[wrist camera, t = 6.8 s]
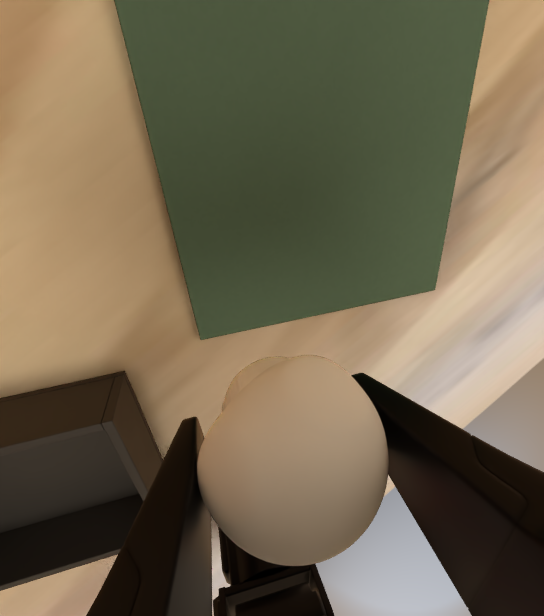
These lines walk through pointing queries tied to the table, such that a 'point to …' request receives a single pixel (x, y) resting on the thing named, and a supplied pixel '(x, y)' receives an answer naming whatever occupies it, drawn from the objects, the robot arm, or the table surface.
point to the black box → (71, 475)
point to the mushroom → (294, 461)
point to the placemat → (304, 146)
